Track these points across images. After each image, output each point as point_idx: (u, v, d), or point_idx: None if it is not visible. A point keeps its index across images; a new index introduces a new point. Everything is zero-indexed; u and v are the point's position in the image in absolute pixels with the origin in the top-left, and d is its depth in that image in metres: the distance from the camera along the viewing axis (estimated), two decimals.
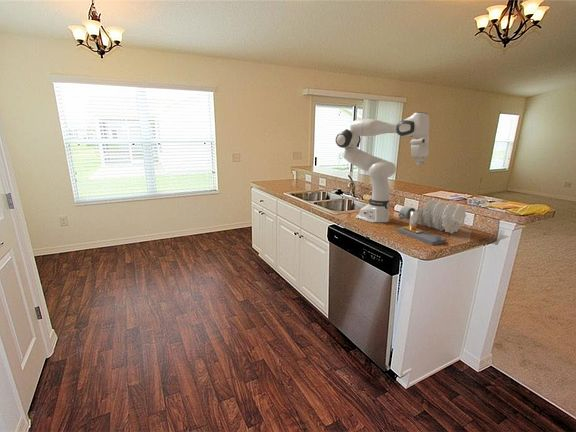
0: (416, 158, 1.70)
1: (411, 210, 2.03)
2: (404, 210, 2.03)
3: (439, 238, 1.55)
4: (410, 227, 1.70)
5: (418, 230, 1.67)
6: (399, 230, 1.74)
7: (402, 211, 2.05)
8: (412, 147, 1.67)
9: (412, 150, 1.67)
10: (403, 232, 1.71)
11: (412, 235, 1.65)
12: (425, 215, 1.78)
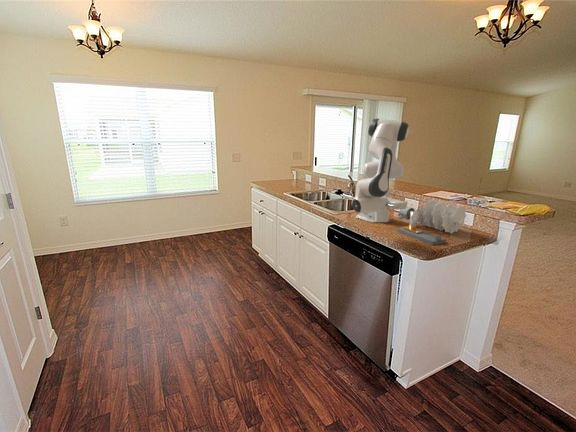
0: None
1: (410, 210, 2.03)
2: (403, 210, 2.03)
3: (439, 238, 1.55)
4: (410, 227, 1.70)
5: (418, 230, 1.67)
6: (399, 230, 1.74)
7: (401, 211, 2.05)
8: None
9: None
10: (403, 232, 1.71)
11: (412, 235, 1.65)
12: (425, 215, 1.78)
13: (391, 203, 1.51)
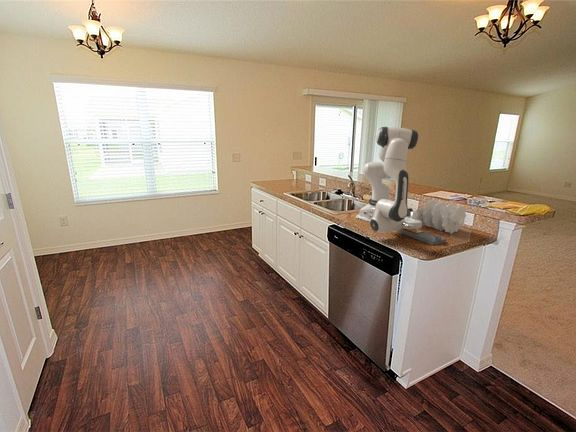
0: None
1: (409, 210, 2.02)
2: None
3: (439, 238, 1.55)
4: None
5: (418, 230, 1.67)
6: (399, 230, 1.74)
7: None
8: None
9: None
10: (403, 232, 1.71)
11: (412, 235, 1.65)
12: (425, 215, 1.78)
13: (407, 223, 1.59)
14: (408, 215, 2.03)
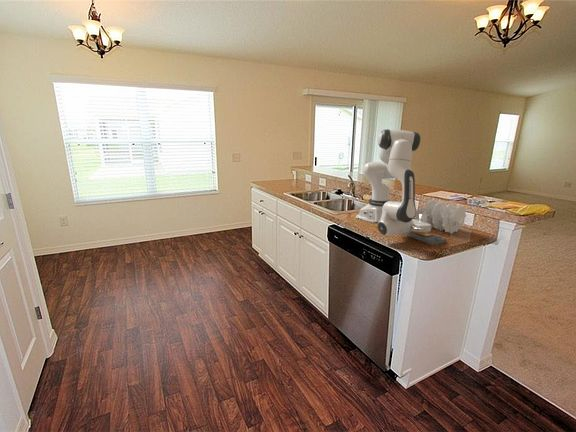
0: None
1: None
2: None
3: (439, 238, 1.55)
4: None
5: (427, 233, 1.62)
6: None
7: None
8: None
9: None
10: None
11: (412, 235, 1.65)
12: None
13: (416, 226, 1.54)
14: None
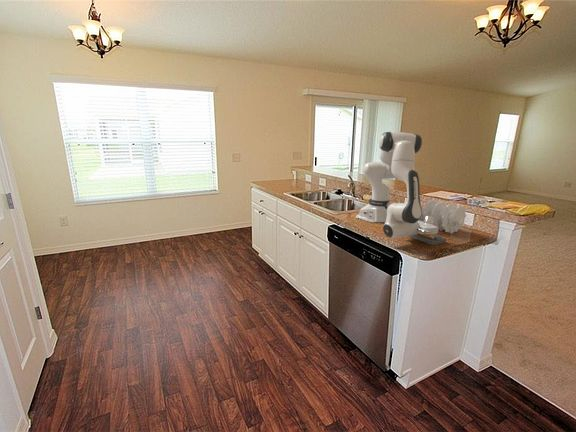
0: None
1: None
2: None
3: (439, 238, 1.55)
4: None
5: (433, 236, 1.58)
6: None
7: None
8: None
9: None
10: None
11: (412, 235, 1.65)
12: (425, 215, 1.78)
13: (422, 228, 1.50)
14: None
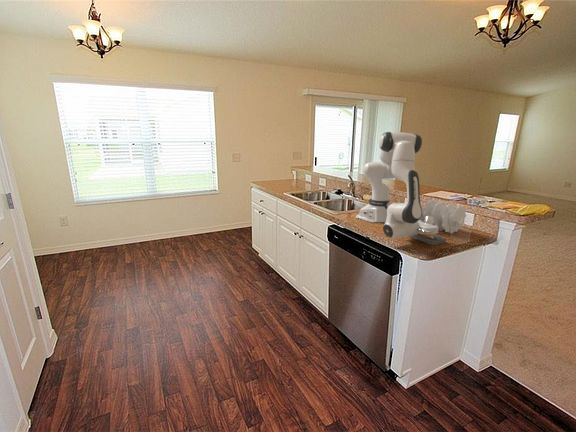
0: None
1: None
2: None
3: (439, 238, 1.55)
4: None
5: (433, 236, 1.58)
6: None
7: None
8: None
9: None
10: None
11: (412, 235, 1.65)
12: (425, 215, 1.78)
13: (423, 228, 1.50)
14: None
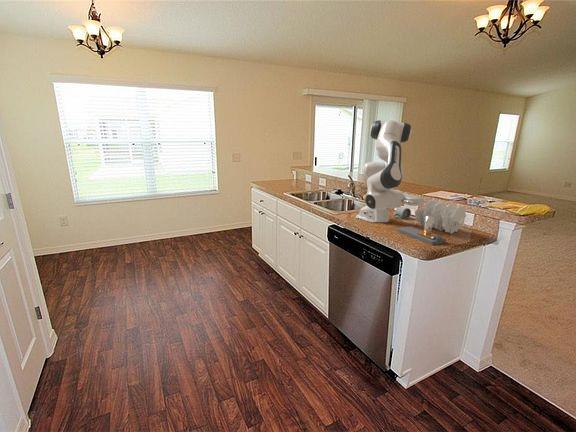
0: None
1: (406, 210, 2.02)
2: (399, 210, 2.02)
3: (439, 238, 1.55)
4: (425, 232, 1.60)
5: (433, 236, 1.58)
6: (399, 230, 1.74)
7: (397, 211, 2.04)
8: None
9: None
10: (403, 232, 1.71)
11: (412, 235, 1.65)
12: (425, 215, 1.78)
13: (407, 199, 1.41)
14: (405, 215, 2.03)
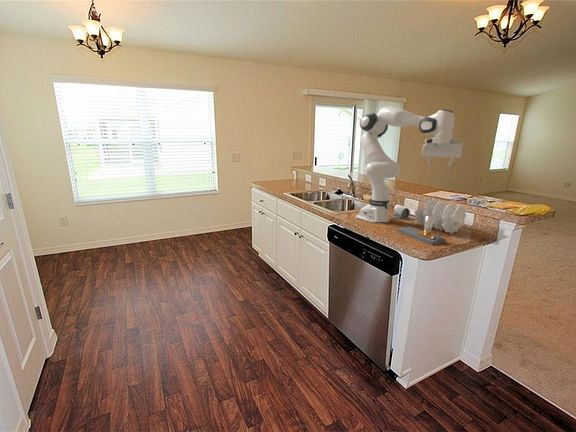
0: None
1: (405, 210, 2.02)
2: (398, 210, 2.02)
3: (439, 238, 1.55)
4: (425, 232, 1.60)
5: (433, 236, 1.58)
6: (399, 230, 1.74)
7: (396, 211, 2.04)
8: None
9: None
10: (403, 232, 1.71)
11: (412, 235, 1.65)
12: (425, 215, 1.78)
13: None
14: (404, 215, 2.03)
